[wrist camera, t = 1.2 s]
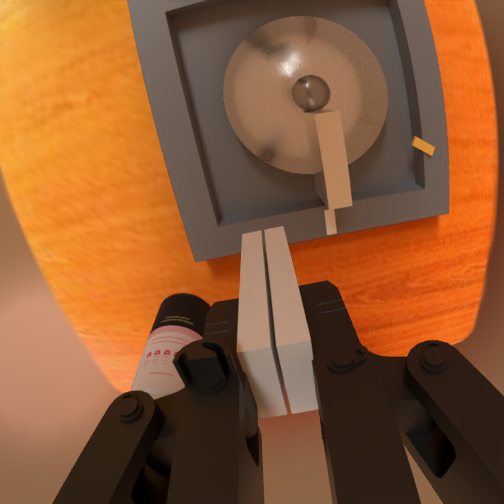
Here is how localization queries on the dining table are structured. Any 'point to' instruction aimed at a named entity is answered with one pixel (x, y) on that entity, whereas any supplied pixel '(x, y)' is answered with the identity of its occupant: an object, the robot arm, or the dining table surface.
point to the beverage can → (169, 343)
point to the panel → (261, 173)
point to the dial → (307, 100)
